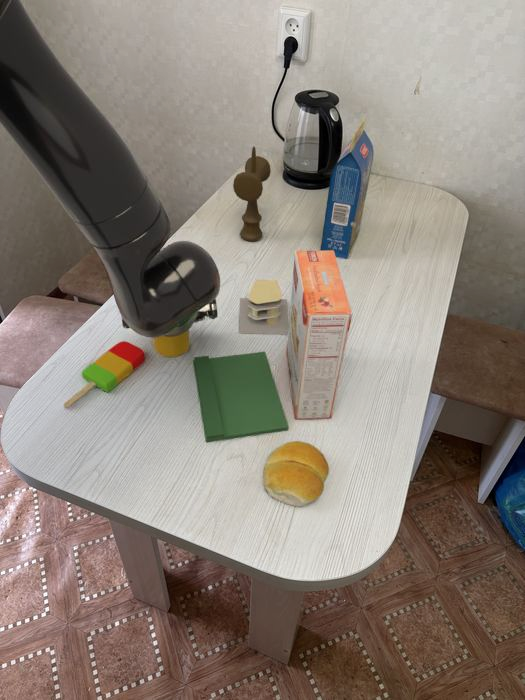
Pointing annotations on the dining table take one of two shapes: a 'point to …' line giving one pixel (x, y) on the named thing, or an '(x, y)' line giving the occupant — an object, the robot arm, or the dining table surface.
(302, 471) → the bread roll
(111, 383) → the popsicle
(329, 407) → the cracker box
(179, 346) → the yellow cylinder with peg
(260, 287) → the stacked layers on plate
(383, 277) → the dining table surface
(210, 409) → the green notebook
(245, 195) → the kendama
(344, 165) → the blue food package
